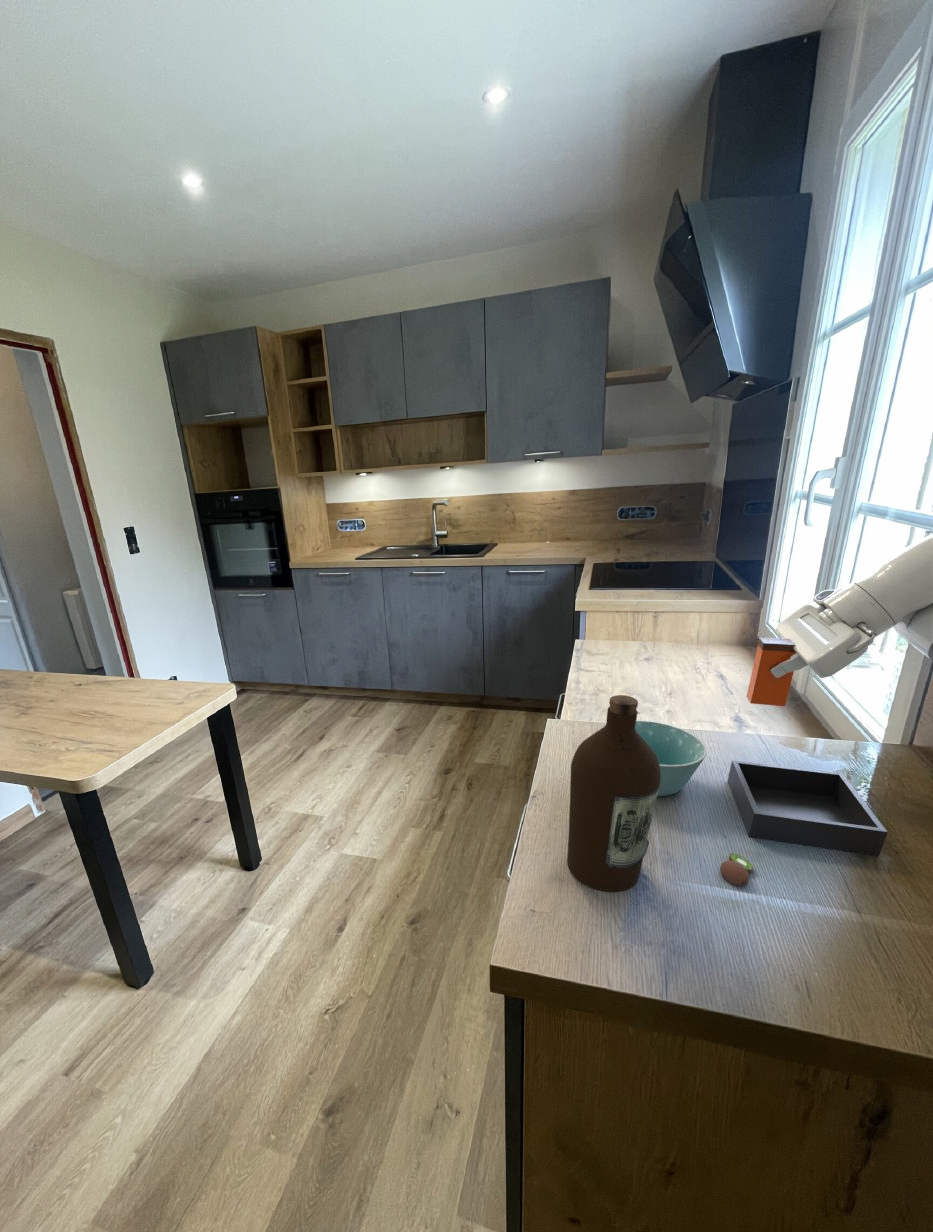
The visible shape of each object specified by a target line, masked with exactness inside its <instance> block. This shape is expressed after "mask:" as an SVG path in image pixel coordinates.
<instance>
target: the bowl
mask: <svg viewBox="0 0 933 1232" xmlns="http://www.w3.org/2000/svg"><path fill="white" fill-rule="evenodd" d="M635 729H636V731H637V732H638V733H639V735H640V736H641V737H642V738H643V739H644V740H645V741H646V742H647V743H648V745H649V746H650V747H651V748H652V749H653V751H654V752H655V754H656V756H657V758H658V761H659V765H660V771H661V780H660V787H659V791H658V795H657V797H667V796H671V795H674V794H676V793H679V792H680V791H681V790H682V789H683V788H684V787H685V786H686V785H687V783H688V782H689V780H690V779H691V778H692V777H693V775H694V774H695V772H696V771H697V770H698V768H699V767H700V765H701V764H702V762H703V761H704V760H705V758H706V756H707V753H708V752H707V747H706V745H705V744H704V742H703V741H702V739H700V738H699V737H697V736H696V735H694V734H693V733H690V732H689V731H687V730H685V729H682V728H680V727H677V726H675V725H671V724H667V723H663V722H657V721H651V720H636V725H635Z"/></svg>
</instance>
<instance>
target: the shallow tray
mask: <svg viewBox="0 0 933 1232" xmlns="http://www.w3.org/2000/svg"><path fill="white" fill-rule="evenodd" d="M727 776H728V777H727V785H728V786H729V790H730V792H731V794H732V797H733V800H734V802H735V805H736V808H737V810H738V813H739V816H740V818H741V821H742V823H743V827H744V830H745V831H746V834H747V837H748V838H753V839H758V840H764V841H765V840H766V841H772V842H779V843H785V844H792V845H797V846H805V847H811V848H818V849H819V848H820V849H825V850H830V851H831V850H833V851H838V852H846V853H850V854H851V853H852V854H858V855H864V856H872V857H878V858H879V857H880V855H881V851H882V849H883V846H884V844H885V841H886V838H887V835H888V830H887V829H886V827H885V826H884V825H883V824H882V822H881V821H880V820H879V819H878V817H877V816H876V814H875V813H874V812H873V811H872V809H871V808H870V807H869V805H868V804H867V803H866V801H865V800H864V799H863V798H862V796H861V794H859V792H858V791H857V789H856V788H855V787H854V786H853V784H852V783H851V782H850V781H849V779H848V778H847V777H846V775H845V774H844V773H843V772H836V771H827V770H821V769H819V770H818V769H811V768H802V767H795V766H794V767H793V766H784V765H777V764H776V765H775V764H766V763H758V762H749V761H742V760H741V761H739V760H731V762H730V766H729V773H728V775H727Z"/></svg>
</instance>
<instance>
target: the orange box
mask: <svg viewBox="0 0 933 1232" xmlns="http://www.w3.org/2000/svg"><path fill="white" fill-rule="evenodd" d="M756 643H757V647H756V651H755V655H754V656H755V657H754V660H753V666H752V670H751V675H750V680H749V684H748V688H747V692H746V699H747V700H748V701H749V703H750V704H753V705H762V706H763V705H764V706H776V707H786V705H787V700H788V695H789V692H790V689H791V684H792V680H793V677H794V673H795V671H793V672H789V673H786V674H785V675H783V676H781V677H780V678H776V677H775V676H774V675H773V674H772V673H771V672H770V670H769V668H770V667H771V666H773V665H774V664H776V663H779V664H780V663H782V662H784V661H786V660H788V659H791V658H790V657H791V656H792V655H794V654H796V651H795V650H794V649H793V647H794V646H795V644H794V643H793V642H792V641H791V640H790V639H783V638H782V637H762V636H761V637H758V639H757V642H756Z"/></svg>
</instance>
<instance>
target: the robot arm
mask: <svg viewBox="0 0 933 1232" xmlns="http://www.w3.org/2000/svg"><path fill="white" fill-rule="evenodd" d="M813 600H814V601H810V602H808V603H806V604H804V605H803V606H802V607H800V608H798V609H797V610H796V611H794V612H793V613H791V614H790V615H789V616H788V617H786V618H785V619H783V620H782V621H781V622H780V623H779V624H778V625H777V627H775V632H776V633H777V634H778V636H779V637H780V638H781V639H790V640H791V641H792V642H793V643H794V644H795V646H794V647H793V649H794V650H795V651H796V654H794V655H792V656H791V657H790V658H791V659H788V660H786V661H784V662H782V663H780V664H779V663H776V664H774V665H773V666H771V667H770V668H769V670H770V672H771V673H772V674H773V675H774V676H775V677H776V678H780V677H781V676H783V675H785V674H786V673H789V672H793V671H794V672H797V671H799V670H802V669H803V668H805V667H807V666H808V667H809V668H810V669H811V670H812V671H813V672H814V673H815V675H817V676H818V677H819V678H820V679H825V678H829V677H832V676H834V675H835V674H837V673H838V672H840V671H841V670H843V669H845V668H846V667H848V666H849V665H851V664H852V663H853V662H855V661H856V660H857V659H859V658H860V657H862V656H863V655H864V654H865V653H866V652H867V651H868V650H869V646H870V645H872V644H873V643H874V640H875V639H876V638H877V637H878V636H880V635H882V634H883V633H885V632H887V631H888V630H890V629H892V628H893V629H894V631H895V632H896V633H897V634H898V635H899V636H900V637H902V638H903V639H904V640H905V641H907V642H908V643H909V644H910V645H911V646H912V647H914V649H916V650H917V651H919V652H920V653H922V655H924V656H925V657H926V658H928V659H929V660H930V662H931V663H933V534H929V535H928V536H925V537H922V538H921V539H919V540H917V541H916V542H914V543H912V544H910V545H908V546H907V547H904V548H903V549H902V550H900V551H898V552H897V553H895V554H894V555H891V556H890V557H889V558H888V559H886V560H885V561H882V562H881V563H880V564H879V565H878V566H877V567H876V568H875V569H874V570H873V571H872V572H871V573H869V574H867V575H866V576H864V577H863V576H862V577H861V578H858V579H856V580H854V581H852V582H850V583H849V584H848V585H846V586H845V587H840V588H836V589H824V590H822V591H820V592H818V593H817V594H815V595H814V596H813Z"/></svg>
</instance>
